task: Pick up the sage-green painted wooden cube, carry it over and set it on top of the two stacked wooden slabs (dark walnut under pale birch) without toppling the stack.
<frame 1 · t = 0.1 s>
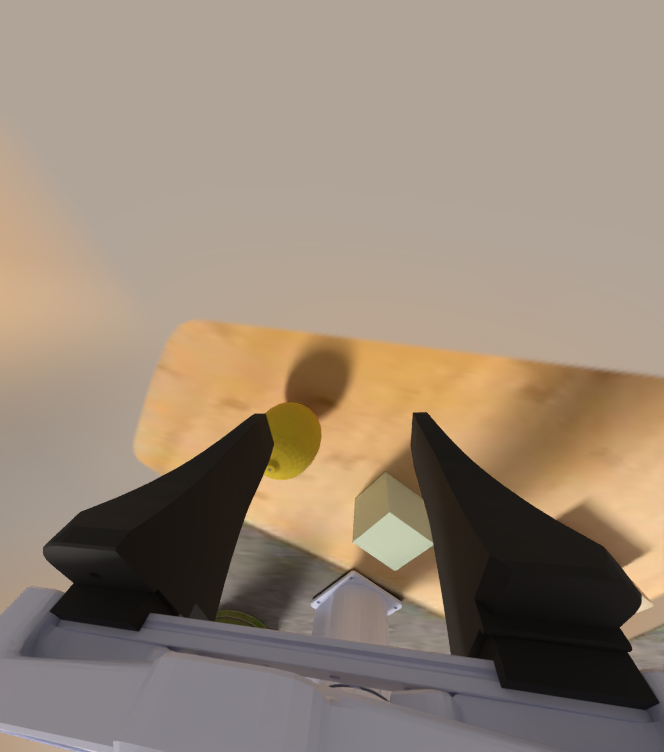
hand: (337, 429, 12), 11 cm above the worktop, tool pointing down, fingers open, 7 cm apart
lemon: (300, 414, 24), on the worktop
cube: (387, 498, 26), on the worktop
lantern: (240, 630, 39), on the worktop
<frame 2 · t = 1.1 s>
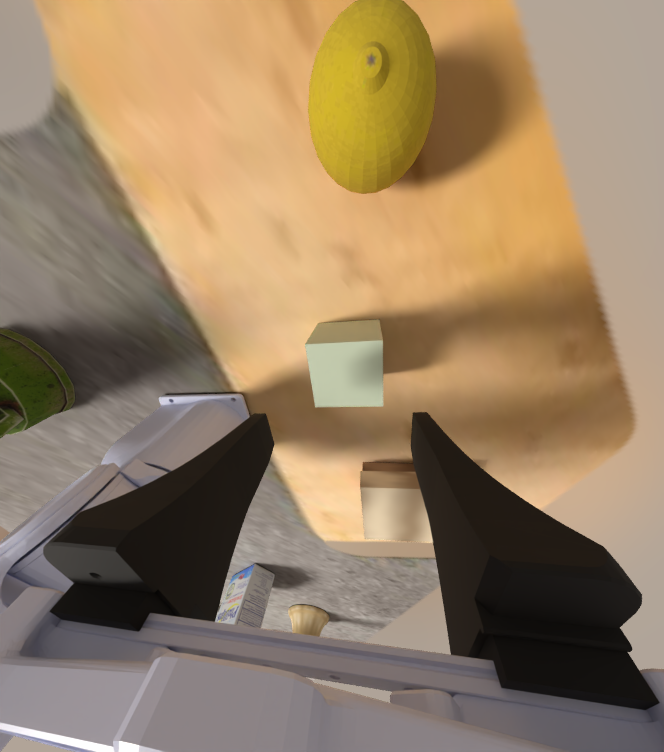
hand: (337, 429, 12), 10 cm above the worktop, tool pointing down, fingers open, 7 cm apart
lemon: (368, 148, 15), on the worktop
cube: (350, 349, 21), on the worktop
lantern: (29, 372, 27), on the worktop
slab bottom: (402, 485, 29), on the worktop, touching slab top
hand bell: (309, 612, 49), on the worktop
slab top: (403, 499, 27), point 1 cm above the worktop, touching slab bottom
medicine box: (254, 572, 44), on the worktop
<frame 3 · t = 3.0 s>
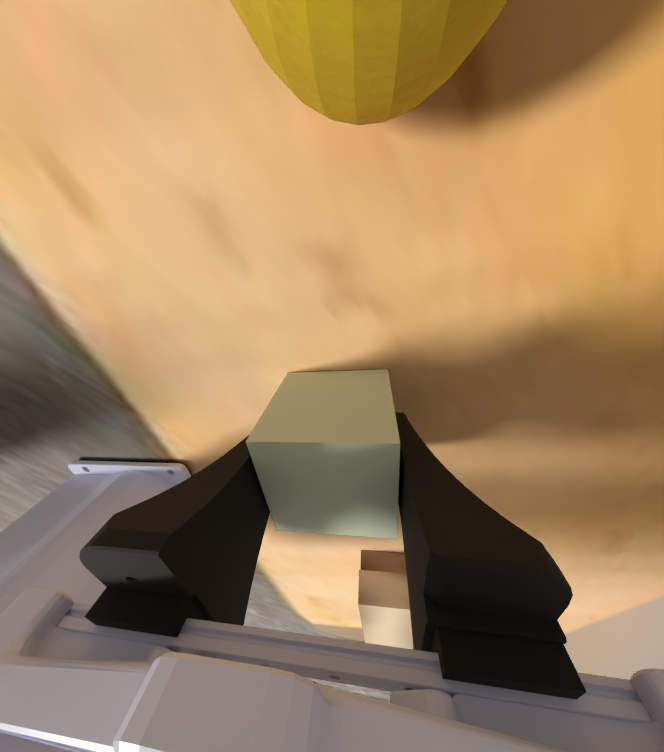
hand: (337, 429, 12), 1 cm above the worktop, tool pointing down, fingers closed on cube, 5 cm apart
lemon: (371, 44, 7), on the worktop
cube: (340, 412, 13), on the worktop, touching gripper
slab bottom: (415, 574, 21), on the worktop, touching slab top
slab top: (420, 603, 20), point 1 cm above the worktop, touching slab bottom
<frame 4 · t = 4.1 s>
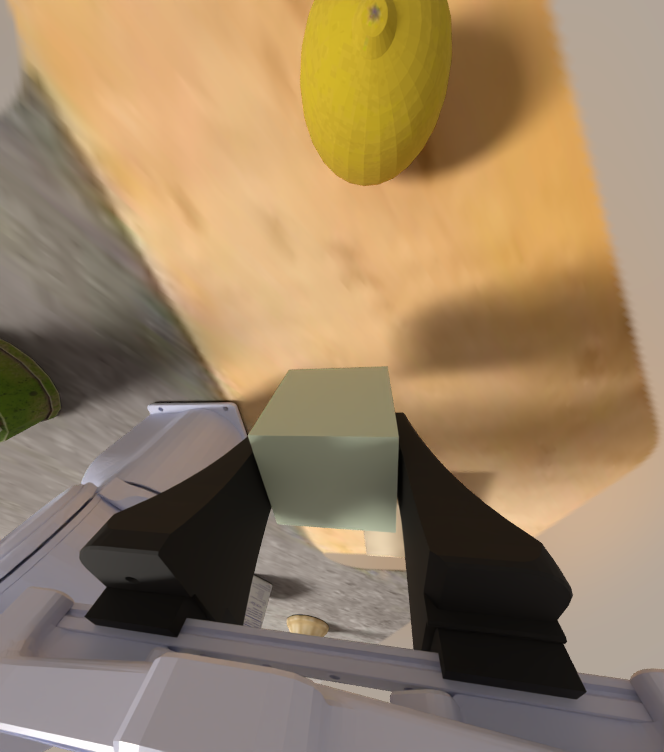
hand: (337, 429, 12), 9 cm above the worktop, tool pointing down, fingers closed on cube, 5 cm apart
lemon: (370, 136, 13), on the worktop
cube: (340, 409, 13), point 7 cm above the worktop, touching gripper
lantern: (12, 379, 26), on the worktop
hand bell: (308, 622, 48), on the worktop
slab top: (406, 513, 26), point 1 cm above the worktop, touching slab bottom
medicine box: (251, 582, 42), on the worktop
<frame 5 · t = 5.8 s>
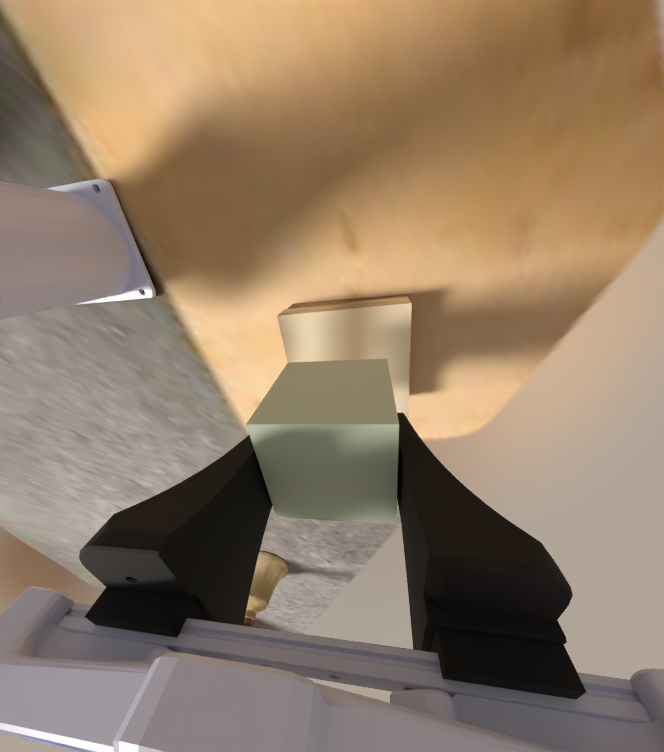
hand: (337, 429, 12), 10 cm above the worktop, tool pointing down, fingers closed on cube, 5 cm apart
cube: (340, 402, 13), point 9 cm above the worktop, touching gripper
slab bottom: (351, 349, 22), on the worktop, touching slab top
hand bell: (265, 562, 42), on the worktop
slab top: (349, 358, 20), point 1 cm above the worktop, touching slab bottom
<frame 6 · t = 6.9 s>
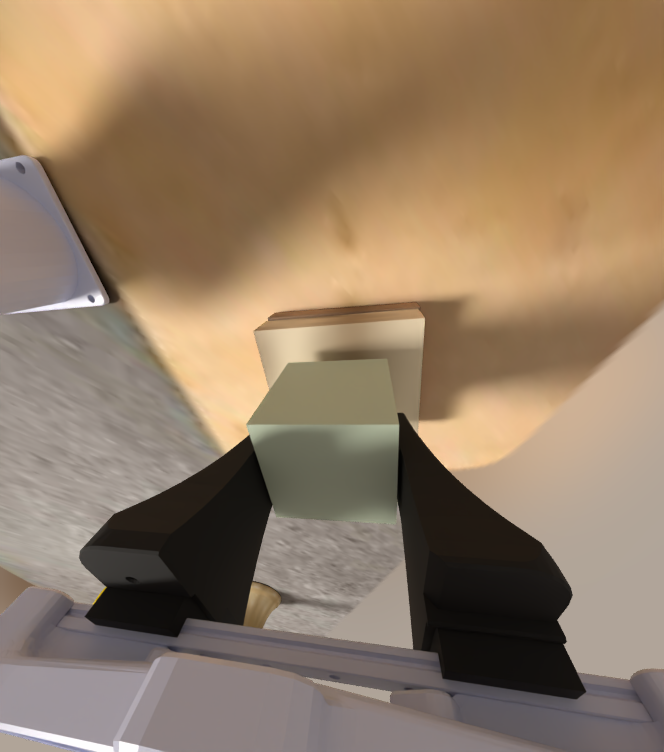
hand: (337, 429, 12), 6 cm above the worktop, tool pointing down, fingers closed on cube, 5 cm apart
cube: (340, 402, 13), point 5 cm above the worktop, touching gripper
slab bottom: (348, 366, 18), on the worktop, touching slab top
hand bell: (255, 591, 38), on the worktop
slab top: (345, 381, 17), point 1 cm above the worktop, touching slab bottom
when the fingers open (6 cm above the worktop, at t = 7.8 s): cube drops 1 cm, point 3 cm above the worktop.
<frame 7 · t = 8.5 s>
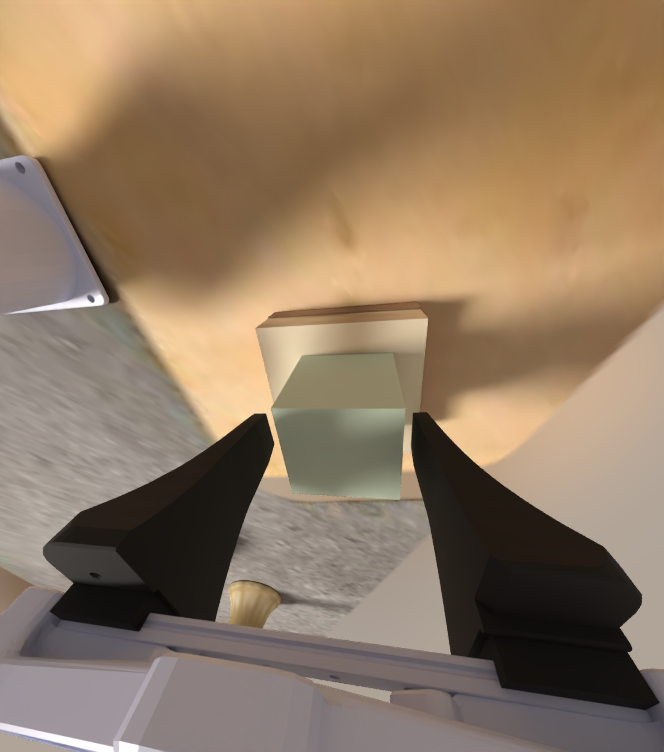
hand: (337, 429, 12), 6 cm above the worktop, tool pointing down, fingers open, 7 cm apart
cube: (348, 393, 15), point 3 cm above the worktop
slab bottom: (348, 366, 18), on the worktop, touching slab top
hand bell: (255, 591, 38), on the worktop
slab top: (345, 380, 16), point 1 cm above the worktop, touching slab bottom
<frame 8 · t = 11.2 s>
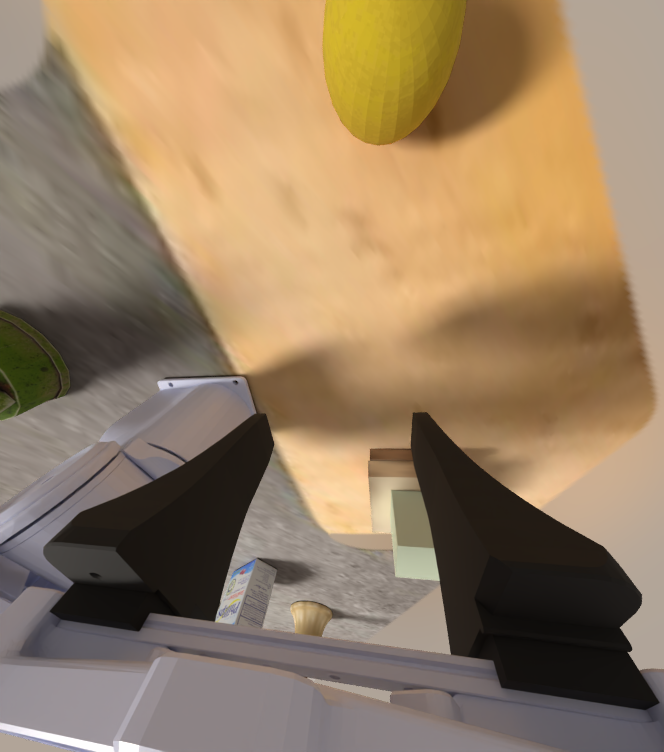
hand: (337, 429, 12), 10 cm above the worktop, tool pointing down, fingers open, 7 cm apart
lemon: (382, 102, 14), on the worktop
cube: (416, 507, 25), point 3 cm above the worktop, touching slab top
lantern: (22, 357, 26), on the worktop
slab bottom: (410, 474, 28), on the worktop, touching slab top
hand bell: (311, 608, 48), on the worktop
slab top: (412, 491, 26), point 1 cm above the worktop, touching cube, slab bottom
medicine box: (255, 568, 43), on the worktop
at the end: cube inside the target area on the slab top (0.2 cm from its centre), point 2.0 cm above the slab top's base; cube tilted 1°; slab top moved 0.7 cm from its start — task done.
